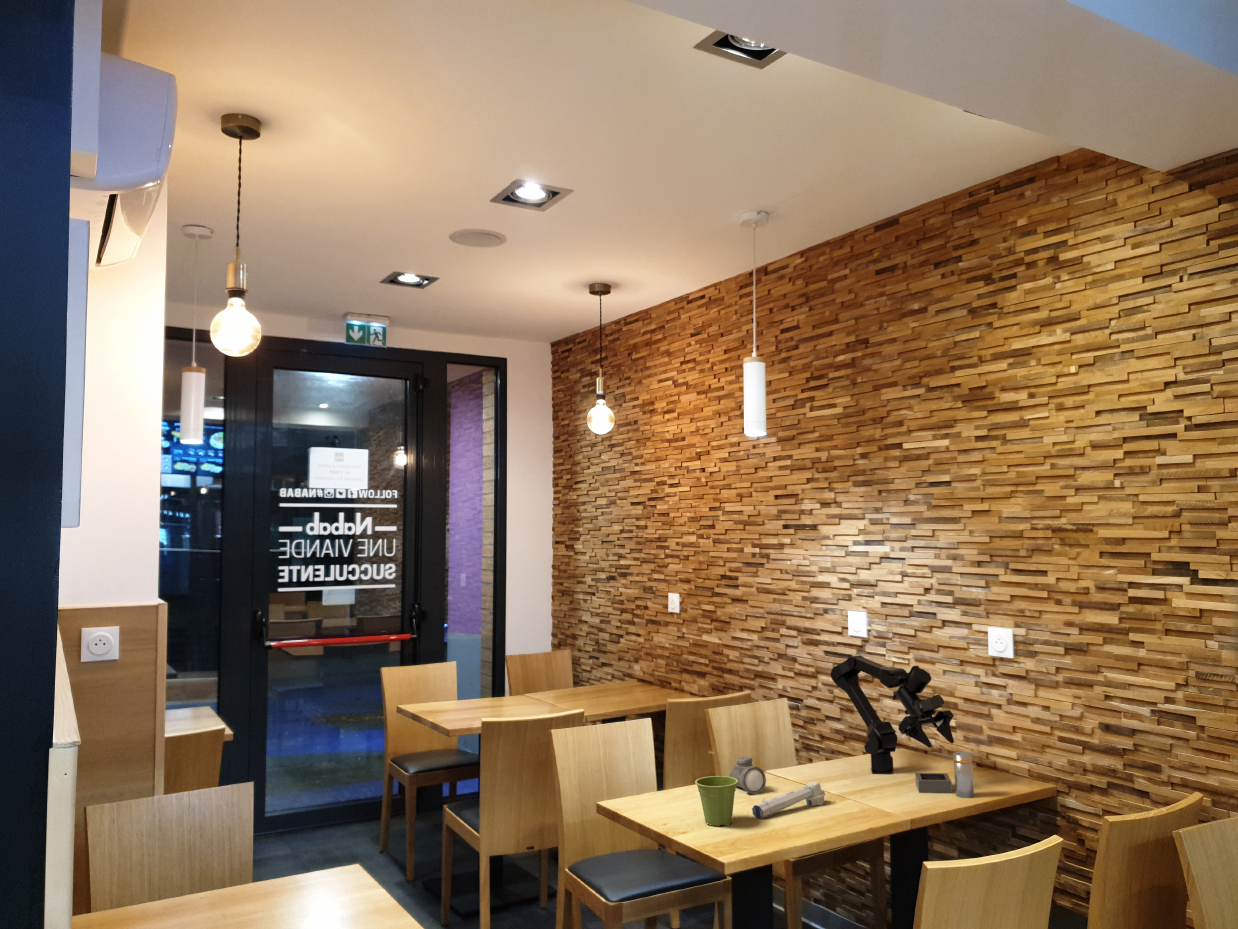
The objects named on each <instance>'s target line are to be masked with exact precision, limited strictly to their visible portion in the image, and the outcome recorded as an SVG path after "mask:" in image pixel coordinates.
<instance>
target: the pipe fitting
mask: <svg viewBox="0 0 1238 929" xmlns="http://www.w3.org/2000/svg"><path fill="white" fill-rule="evenodd" d="M735 761H736V762H735V765H734V768H732V769H731V770H730V772H729V775H728V777H733V778H736V779H737V780H738V783H737V784H736V788H741V789H743V791H745V792H746V793H747V794H750V795H758V794H760V793H761V792H762V791H764V789H765V788H766V785H767V777H766V773H765V772H764V770H763V769H762V768H761V767H758V766H755V765H754V764H753V757H752V756H742V757H738V758H737V759H735Z"/></svg>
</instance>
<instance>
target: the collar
mask: <svg viewBox="0 0 1238 929" xmlns="http://www.w3.org/2000/svg"><path fill="white" fill-rule="evenodd" d="M914 775H915V786H916V788H917V791H918V793H919V794H921V793H922V794H924V793H925V794H953V784H952V783H953V782H952V779H951V778H950V775H949V774H948V773H947V772H945V773H943V772H915V774H914Z"/></svg>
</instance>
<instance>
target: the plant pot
mask: <svg viewBox="0 0 1238 929" xmlns="http://www.w3.org/2000/svg"><path fill="white" fill-rule="evenodd" d="M694 783H695V785H696V786H697V790H698V792H699V797H700V801H701V806H702V811H703V816H704V821H705V823H706V824H707V823H708V824H711V825H710V826H713V825H715V826H714V827H720V826H729V825H731V824H732V822H733V814H734V813H733V812H734V802H735V801H734V800H735V792H736V788H737V787H736V784H737V783H738V780H737V779H736V778H733V777H729V776H725V775H724V776H722V775H713V776H712V775H711V776H710V775H709V776H703V777H699V778H697V779H695V782H694ZM708 824H707V825H708Z"/></svg>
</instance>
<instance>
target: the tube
mask: <svg viewBox="0 0 1238 929" xmlns="http://www.w3.org/2000/svg"><path fill="white" fill-rule="evenodd" d="M952 755H953V758H952V760H953V769H954V770H953V771H954V783H955V786H954V787H955V796H956V797H958V798H961V799H962V798H963V799H972V798H974V797H975V786H974V774H973V757H972V753H970V752H967V751H966V752H965V751H955V752H953V754H952Z"/></svg>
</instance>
